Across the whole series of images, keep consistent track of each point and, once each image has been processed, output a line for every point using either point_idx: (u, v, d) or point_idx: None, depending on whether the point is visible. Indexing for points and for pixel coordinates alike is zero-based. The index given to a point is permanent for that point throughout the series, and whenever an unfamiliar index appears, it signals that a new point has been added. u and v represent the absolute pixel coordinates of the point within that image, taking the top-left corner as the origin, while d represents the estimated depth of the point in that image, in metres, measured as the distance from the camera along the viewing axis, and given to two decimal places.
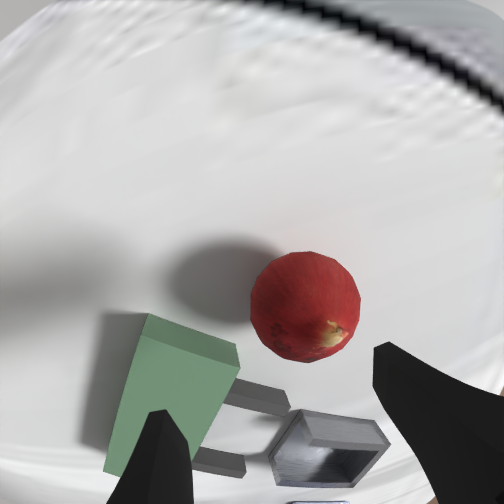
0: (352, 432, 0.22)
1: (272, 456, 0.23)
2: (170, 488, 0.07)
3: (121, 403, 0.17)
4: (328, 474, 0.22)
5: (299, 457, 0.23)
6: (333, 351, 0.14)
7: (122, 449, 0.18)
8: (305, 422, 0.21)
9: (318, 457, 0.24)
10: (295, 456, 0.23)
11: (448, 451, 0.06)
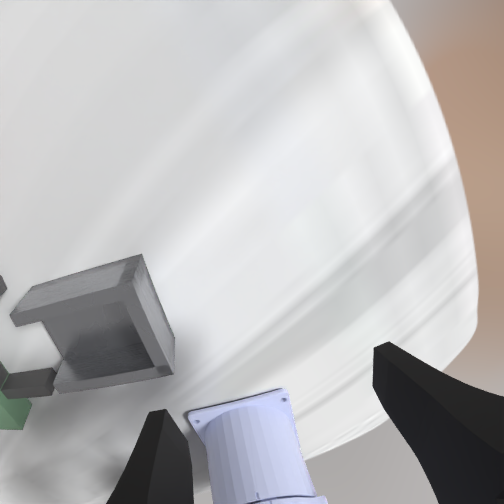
0: (73, 287, 0.15)
1: (66, 357, 0.18)
2: (170, 488, 0.07)
3: None
4: (123, 361, 0.17)
5: (87, 348, 0.18)
6: None
7: None
8: (23, 299, 0.15)
9: (109, 339, 0.18)
10: (82, 348, 0.18)
11: (448, 451, 0.06)
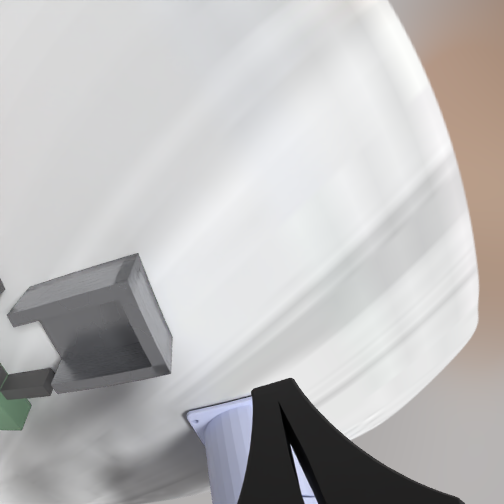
0: (70, 287, 0.15)
1: (64, 358, 0.18)
2: (292, 463, 0.07)
3: None
4: (120, 361, 0.17)
5: (85, 348, 0.18)
6: None
7: None
8: (20, 299, 0.15)
9: (107, 339, 0.18)
10: (79, 348, 0.18)
11: None
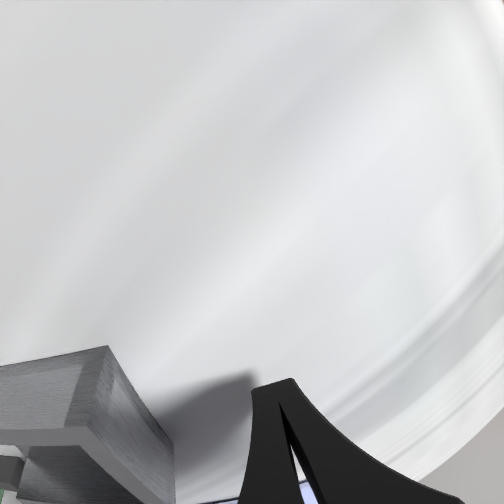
0: (8, 401, 0.07)
1: (30, 455, 0.11)
2: (292, 463, 0.07)
3: None
4: (101, 486, 0.09)
5: (53, 453, 0.10)
6: None
7: None
8: None
9: (80, 449, 0.10)
10: (46, 452, 0.10)
11: None
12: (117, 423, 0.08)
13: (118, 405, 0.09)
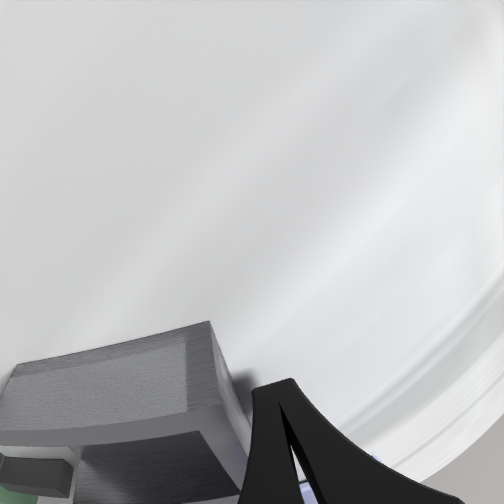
0: (90, 392, 0.08)
1: (83, 456, 0.11)
2: (293, 463, 0.07)
3: None
4: (182, 480, 0.09)
5: (117, 451, 0.11)
6: None
7: None
8: (4, 392, 0.08)
9: (153, 442, 0.11)
10: (108, 450, 0.11)
11: None
12: (230, 402, 0.08)
13: (226, 383, 0.09)
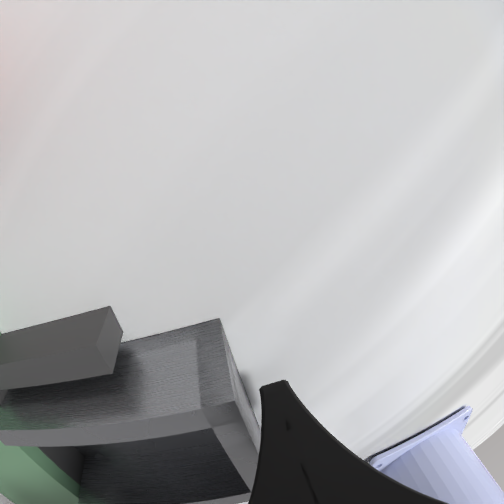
0: (99, 391, 0.08)
1: (88, 456, 0.11)
2: None
3: None
4: (190, 479, 0.09)
5: (123, 450, 0.11)
6: None
7: (15, 497, 0.09)
8: (9, 392, 0.08)
9: (160, 441, 0.11)
10: (113, 450, 0.11)
11: None
12: (241, 399, 0.08)
13: (237, 381, 0.09)
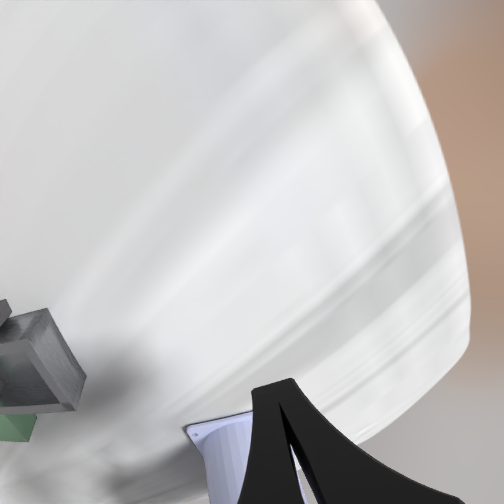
0: None
1: (7, 384, 0.18)
2: (292, 463, 0.07)
3: None
4: (41, 394, 0.17)
5: (20, 379, 0.18)
6: None
7: None
8: None
9: (34, 374, 0.18)
10: (16, 379, 0.18)
11: None
12: (45, 345, 0.16)
13: (48, 337, 0.17)
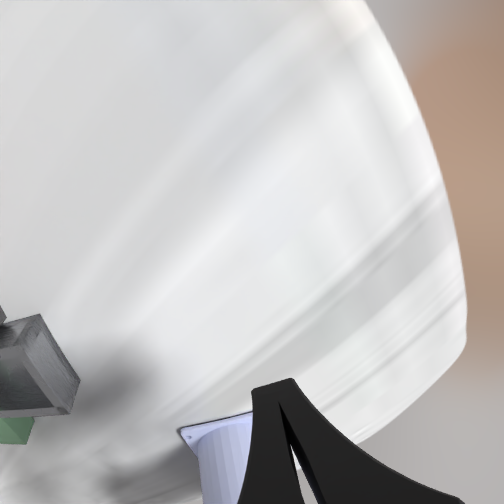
0: None
1: (4, 388, 0.18)
2: (292, 463, 0.07)
3: None
4: (37, 398, 0.17)
5: (16, 383, 0.18)
6: None
7: None
8: None
9: (30, 378, 0.18)
10: (12, 383, 0.18)
11: None
12: (38, 350, 0.16)
13: (41, 343, 0.17)
